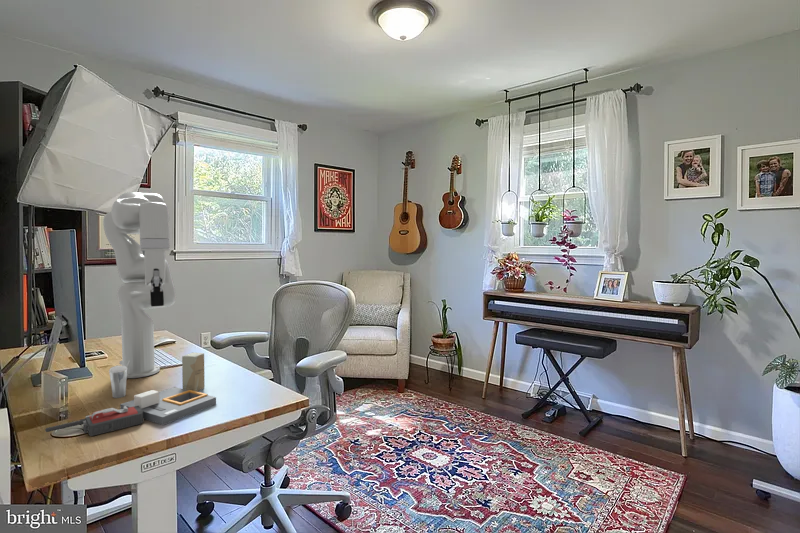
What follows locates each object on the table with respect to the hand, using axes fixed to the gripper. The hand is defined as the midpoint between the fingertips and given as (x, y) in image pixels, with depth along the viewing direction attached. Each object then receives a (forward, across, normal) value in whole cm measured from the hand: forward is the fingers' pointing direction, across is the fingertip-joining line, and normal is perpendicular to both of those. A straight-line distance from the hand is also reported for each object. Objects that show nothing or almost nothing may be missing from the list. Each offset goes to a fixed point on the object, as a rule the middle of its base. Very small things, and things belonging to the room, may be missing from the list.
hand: (157, 304), depth 129 cm
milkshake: (+27, -7, -10) cm, 30 cm away
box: (+28, -3, +9) cm, 29 cm away
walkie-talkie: (+28, +17, -14) cm, 35 cm away
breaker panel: (+28, +10, +2) cm, 30 cm away
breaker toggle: (+26, +11, -3) cm, 28 cm away
